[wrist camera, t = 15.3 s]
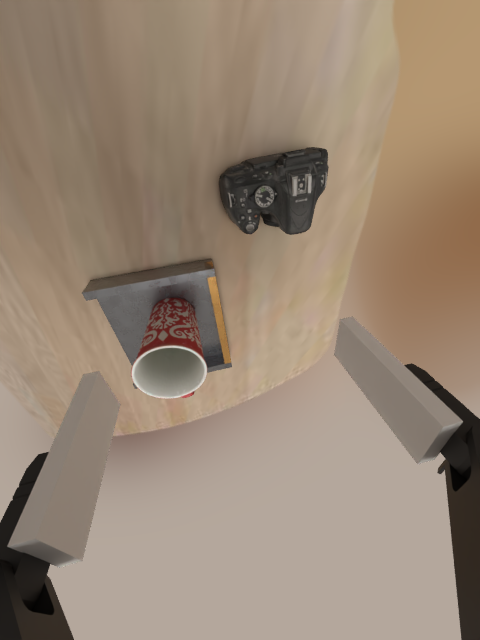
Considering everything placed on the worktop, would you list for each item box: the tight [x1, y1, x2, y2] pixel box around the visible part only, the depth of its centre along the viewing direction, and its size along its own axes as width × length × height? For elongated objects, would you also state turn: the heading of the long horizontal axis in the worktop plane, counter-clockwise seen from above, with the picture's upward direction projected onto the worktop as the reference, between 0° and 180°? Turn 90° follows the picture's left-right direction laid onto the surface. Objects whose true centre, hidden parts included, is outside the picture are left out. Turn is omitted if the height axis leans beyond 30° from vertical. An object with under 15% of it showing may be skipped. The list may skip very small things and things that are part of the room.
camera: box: [219, 147, 328, 235], centre depth 29 cm, size 13×10×10 cm
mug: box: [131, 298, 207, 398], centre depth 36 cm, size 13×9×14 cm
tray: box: [82, 259, 232, 389], centre depth 41 cm, size 20×18×4 cm
